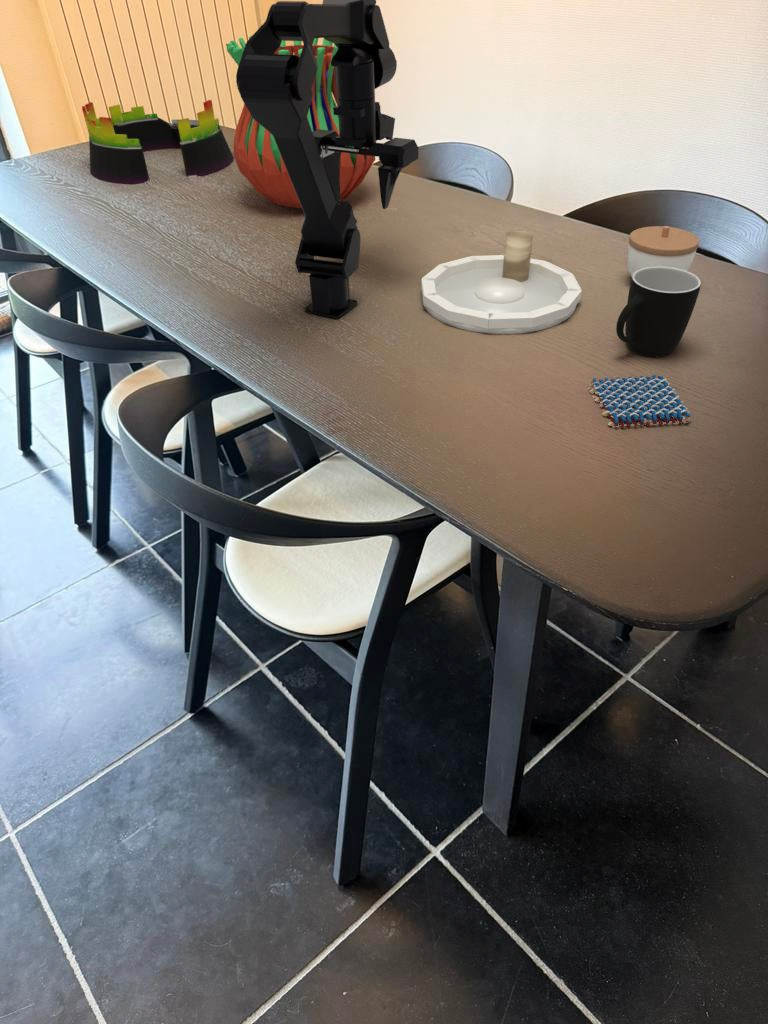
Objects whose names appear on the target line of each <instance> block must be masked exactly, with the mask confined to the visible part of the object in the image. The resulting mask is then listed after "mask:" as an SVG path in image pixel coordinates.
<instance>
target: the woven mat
mask: <svg viewBox="0 0 768 1024" xmlns="http://www.w3.org/2000/svg"><path fill="white" fill-rule="evenodd" d="M667 379H668V378H664V376H662V375H658V376H656V374H653V375H652V376H646V377H644V375H640V376H639V377H634V378H632V376H628V377H626V378H625V377H622V379H621V378H620V376H617V377H616V379H615V378H610V380H609V378H608V377H605V378H604V379H598V382H597V378H593V379H592V381H591V383H590V384H589V386H590V387H587V390H588V389H591V390H589V392H590V394H592V396H591V397H593V398H596V399H593V398H592V399H593V401H596V403H597V402H598V403H597V404H599V405H598V407H600V406H601V407H604V408H602V409H601V411H602V410H605V411H604V412H603V411H602V413H601V415H602V417H604V416H606V417H607V416H608V417H609V418H608V417H607V419H605V420H608V419H609V420H611V421H608V423H607V424H608V425H609V426H608V427H610V426H615V427H614V428H617V427H616V426H618V424H620V425H621V427H620V428H621V429H624V428H625V427H624V422H625V423H626V424H627V426H628V427H629V426H631V424H630V423H632V424H634V425H637V424H638V423H639V424H640V425H643V426H645V425H644V424H646V425H647V426H646V427H650V426H651V425H650V423H653V424H657V421H658V422H659V424H663V421H665V422H666V425H669V424H668V423H669V422H670V421H672V423H676V420H678V421H679V423H681V422H682V420H690V419H691V418H690V417H691V415H692V414H690V411H688V410H689V407H686V406H685V405H682V404H683V403H684V400H681V399H680V395H677V392H675V391H676V390H675V388H672V387H671V386H669V385H670V384H671V382H669V381H668V380H667ZM594 393H595V394H594ZM593 394H594V395H593ZM671 396H672V397H671ZM599 402H600V403H599ZM672 406H673V407H672ZM672 416H673V417H674V418H673V417H672ZM660 417H661V418H660ZM686 422H689V421H686ZM689 423H690V422H689ZM681 424H682V423H681ZM628 427H627V428H628Z"/></svg>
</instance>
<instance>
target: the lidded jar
mask: <svg viewBox="0 0 768 1024" xmlns="http://www.w3.org/2000/svg"><path fill="white" fill-rule="evenodd" d="M699 244H700V239H699V237H698V236H697V235H696V234H694V233H692V232H690V231H688V230H685V229H682V228H678V227H672V226H669V225H664V226H660V225H659V226H658V225H656V226H655V225H653V226H644V227H640V228H637V229H635V230H633V231H631V232H630V234H629V237H628V246H627V251H626V253H627V254H626V266H627V270H628V273H629V275H630V277H631V278H632V275H633V274H634V273H635V272H636V271H637V270H640V269H642V268H647V267H656V266H662V267H673V268H678V269H682V270H685V271H688V272H690V271H689V270H690V268H691V267H692V265H693V262H694V260H695V257H696V253H697V250H698V247H699Z"/></svg>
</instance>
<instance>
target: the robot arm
mask: <svg viewBox="0 0 768 1024" xmlns="http://www.w3.org/2000/svg"><path fill="white" fill-rule="evenodd" d="M251 36H252V37H251V38H250V39H249V38H248V40H247V41H246V42H245V43H246V45H245V48H244V51H243V54H242V57H241V60H240V63H239V66H238V65H237V70H236V73H235V74H236V76H235V78H236V79H235V80H236V81H235V82H236V87H237V90H238V92H239V95H240V98H241V100H242V102H243V105H244V104H245V105H246V107H247V109H248V110H249V112H250V114H251V116H252V117H253V119H254V120H256V121H257V122H258V123H259V124H260V125H262V126H263V127H264V128H265V129H267V130H268V131H269V132H270V133H271V134H272V135H273V137H274V139H275V142H276V144H277V147H278V149H279V152H280V154H281V157H282V159H283V162H284V164H285V167H286V169H287V172H288V174H289V177H290V179H291V182H292V184H293V187H294V189H295V192H296V194H297V197H298V199H299V202H300V204H301V207H302V208H301V209H302V212H303V214H304V217H305V218H304V220H303V222H302V226H301V229H300V234H301V235H300V236H301V238H300V242H299V245H298V250H297V252H296V258H295V261H294V262H295V263H294V264H295V268H296V271H297V273H299V274H309V276H308V278H309V291H310V299H311V303H309V304H307V306H306V307H305V306H304V312H306V313H310V314H314V315H319V316H323V317H327V318H332V319H337V320H338V319H339V318H341V317H342V316H344V315H345V314H346V313H348V312H349V311H350V310H351V309H353V308H354V307H355V306H357V305H358V300H355V299H351V298H350V283H349V281H350V280H349V278H350V277H351V276H352V275H353V274H354V273H355V272H356V271H358V269H359V261H360V250H361V232H360V230H359V228H358V226H357V223H358V220H357V219H356V217H355V215H354V209H353V206H352V204H351V203H350V201H343V200H340V179H339V167H338V164H339V160H340V156H341V152H344V153H352V154H361V155H369V156H375V157H378V161H379V163H381V165H380V166H378V167H377V172H378V182H379V183H378V184H379V192H380V195H379V196H380V202H381V206H382V209H383V210H387V208H388V207H389V204H390V201H391V198H392V195H393V192H394V189H395V185H396V182H397V180H398V178H399V175H400V173H401V171H402V170H403V169H404V168H406V167H408V166H410V164H411V163H413V162H415V161H417V160H419V146H418V144H417V141H416V140H415V139H410V138H401V137H394V130H395V122H396V118H395V117H392V116H390V115H388V114H384V113H382V112H381V105H380V102H379V101H376V92H375V91H376V89H378V88H379V87H382V86H384V85H385V84H387V83H389V82H390V81H391V80H392V79H393V78H394V76H395V74H396V72H397V68H398V67H397V66H398V65H397V63H398V61H397V59H396V56H395V52H394V51H393V50H392V49H391V47H390V40H389V37H388V33H387V29H386V26H385V22H384V17H383V14H382V10H381V8H380V6H379V5H377V0H322V3H308V2H307V1H305V0H304V1H303V0H301V1H299V0H297V1H296V0H295V1H294V0H290V1H289V0H279V1H277V2H275V3H272V4H271V5H270V7H269V10H268V13H267V16H266V19H265V21H264V23H262V24H261V25H260V27H259V28H258V29H257V30H256V31H255V32H254V33H253V35H251ZM314 38H318V39H325V40H327V41H329V42H332V43H333V45H334V44H335V45H336V47H337V48H338V50H337V52H336V54H335V55H334V56H333V57H332V60H331V66H335V68H336V84H337V101H338V106H337V105H336V106H335V107H333V112H334V115H338V117H339V133H340V135H338V134H337V132H336V131H330V130H320V129H318V130H316V131H313V132H312V130H311V127H310V124H309V121H308V118H307V114H308V111H309V107H310V104H311V100H312V97H313V93H312V89H311V88H312V85H313V82H314V79H315V75H316V72H317V69H318V65H317V62H316V58H315V55H314V51H313V48H312V44H313V41H314ZM282 41H285V42H294V41H301V42H302V44H303V45H304V46H303V49H302V52H301V55H300V57H298V56H296V55H281V54H273V53H274V52H275V51H276V50H277V49H278V48H279V47H280V45H281V42H282ZM393 137H394V138H393ZM382 140H387V141H385V142H383V143H382V142H377V141H382ZM349 146H353V147H349ZM363 147H364V148H368V149H362V148H363ZM339 200H340V201H339ZM315 257H318V258H328V259H334V260H335V259H336V260H341V262H340V261H333V260H326V259H317V258H315Z"/></svg>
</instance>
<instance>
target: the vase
mask: <svg viewBox="0 0 768 1024" xmlns="http://www.w3.org/2000/svg"><path fill="white" fill-rule="evenodd" d="M252 36H253V35H250V36H249V37H248V40H249V39H250V38H251V37H252ZM238 42H239V44H240V46H239V45H238V43H237V41H236V40H235V39H233V40H230V41H229V43H225V45H226V46H225V47H226V52H228V54H229V56H230V57H231V59H233V61H234V62H235V63H236V65H237V67H238V66H239V63H240V60H241V57H242V54H243V51H244V48H245V45H246V43H247V42H245V40H244V38H243V37H239V38H238ZM318 42H319V38H314V41H313V44H312V48H313V51H314V55H315V58H316V62H317V65H318V69H317V72H316V75H315V79H314V82H313V85H312V88H311V89H312V93H313V97H312V100H311V104H310V107H309V111H308V114H307V118H308V121H309V124H310V127H311V130H312V132H313V131H316V130H318V129H320V130H330V131H336V132H337V134H338V135H340V133H339V117H338V115H334V112H333V107H335V106H338V101H337V84H336V68H335V66H331V60H332V57H333V56H334V55H335V54H336V52H337V50H338V48H337V47H336V45H335V44H334V43H332V42H329V41H327V40H325V39H324V38H322V44H320V45H319V44H318ZM303 46H304V44H302V41H293V45H292V44H291V45H286V41H282V42H281V45H280V47H279V48H278V49H277V50H276V51H275V52H274V53H273V54H281V55H296V56H298V57H300V55H301V52H302V49H303ZM233 138H234V139H233V153H232V155H233V157H234V159H235V162H236V166H237V167H238V171H239V173H240V174H241V175H242V176H244V177H245V178H246V180H247V181H248V182H249V184H250V185H252V187H253V188H254V189H255V190H256V191H257V193H259V194H260V195H262V196H263V197H264V198H266V200H267V199H268V201H270V202H271V203H274V204H276V205H277V206H280V207H281V206H282V207H286V208H295V209H302V207H301V204H300V202H299V199H298V197H297V194H296V192H295V189H294V187H293V184H292V182H291V179H290V177H289V174H288V172H287V169H286V167H285V164H284V162H283V159H282V157H281V154H280V152H279V149H278V147H277V144H276V142H275V139H274V137H273V135H272V134H271V133H270V132H269V131H268V130H267V129H265V128H264V127H263V126H262V125H260V124H259V123H258V122H257V121H256V120H254V119H253V117H252V116H251V114H250V112H249V110H248V109H247V107H246V105H245V104H244V103H243V107H242V110H241V113H240V116H239V118H238V121H237V124H236V128H235V135H234V137H233ZM349 147H353V146H349ZM362 149H368V148H364V147H363V148H362ZM375 161H376V156H369V155H361V154H352V153H344V152H341V156H340V160H339V164H338V167H339V179H340V200H339V201H343V200H346V199H348V197H349V196H350V195H351V194H352V193H353V192H354V191H355V190H356V189H357V188H358V187H359V186H360V185H361V184H362V182H363V181H364V179H365V178H366V176H367V175H368V172H369V171H370V169H371V167H372V165H374V163H375Z"/></svg>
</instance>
